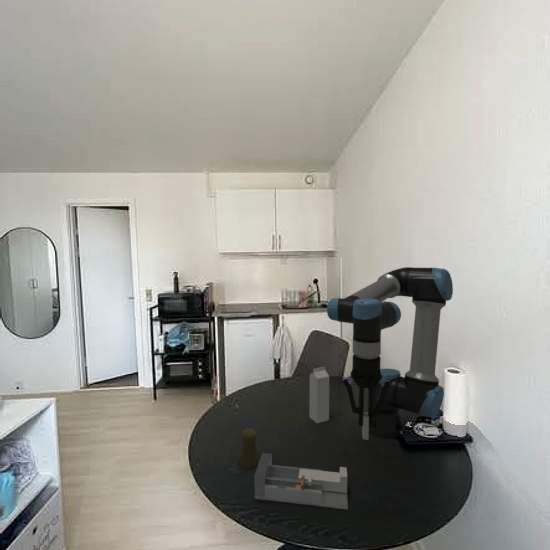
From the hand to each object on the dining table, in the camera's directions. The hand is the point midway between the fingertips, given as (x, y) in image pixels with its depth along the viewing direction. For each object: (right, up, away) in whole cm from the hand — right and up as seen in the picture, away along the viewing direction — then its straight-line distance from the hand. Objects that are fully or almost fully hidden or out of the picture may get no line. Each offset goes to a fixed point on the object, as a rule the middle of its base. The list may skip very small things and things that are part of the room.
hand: (365, 436), depth 97 cm
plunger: (-12, -17, +3) cm, 21 cm away
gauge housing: (-18, -18, +4) cm, 25 cm away
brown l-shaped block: (-18, -17, 0) cm, 25 cm away
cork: (-34, -17, +18) cm, 42 cm away
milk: (-7, -15, +48) cm, 50 cm away
